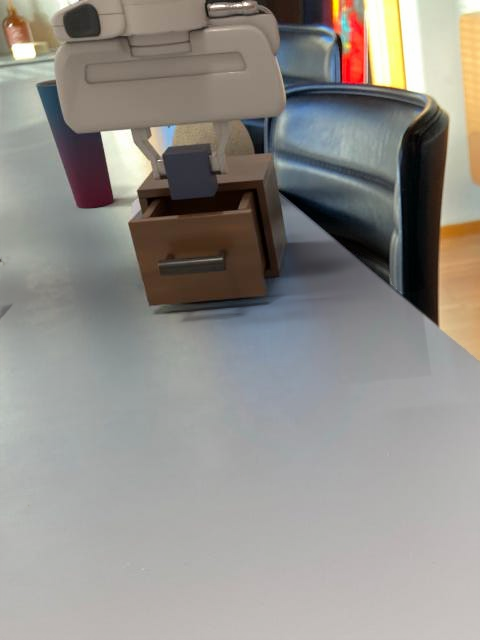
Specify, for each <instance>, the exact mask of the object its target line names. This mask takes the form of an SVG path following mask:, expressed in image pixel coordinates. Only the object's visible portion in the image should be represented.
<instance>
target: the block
mask: <svg viewBox="0 0 480 640" xmlns="http://www.w3.org/2000/svg"><path fill="white" fill-rule="evenodd" d="M210 152H211V147H210V143H206V144H194V145H183V146H172V145H171V146H168V147H167V148H166V149H165V150H164V152H163V153H162V154H161V156H162V158H163V163H164V167H165V171H166V176H167V180H168V184H169V189H170V193H171V198H172V200H181V199H192V198H203V197H214V195H215V193H216V191H217V189H218V187H219V186H218V181H217V177H216V175H212V174H211V170H210V167H211V166H210V164H209V160H208V155H209V153H210Z"/></svg>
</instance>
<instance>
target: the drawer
mask: <svg viewBox="0 0 480 640" xmlns="http://www.w3.org/2000/svg"><path fill="white" fill-rule="evenodd" d="M127 224H128V228H129V232H130V236H131V240H132V245H133V248H134V252H135V256H136V260H137V264H138V269H139V272H140V276H141V280H142V284H143V288H144V292H145V296H146V300H147V303H148V306H149V307H154V306H165V305H166V306H167V305H176V304H177V305H178V304H187V303H188V304H189V303H199V302H211V301H218V300H219V301H220V300H231V299H242V298H243V299H245V298H254V297H264V296H267V291H268V290H267V287H266V286H267V285H266V280H265V278H264V274H263V272H264V268H265V265H266V261H267V251H266V245H265V240H264V234H263V229H262V223H261V217H260V212H259V206H258V201H257V195H256V190H255V189H246V190H234V191H222V192H216V193H215V195H214V197H203V198H192V199H181V200H172V198H171V196H164V197H155V199H154V200H153V201H152V203H151V204H150V206H149V207H148V209H147V210H146V211H145V213H144V214H143V216H142V217H141V219H131V220H130V219H129V221H128V222H127Z"/></svg>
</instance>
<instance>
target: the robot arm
mask: <svg viewBox="0 0 480 640" xmlns="http://www.w3.org/2000/svg"><path fill="white" fill-rule="evenodd" d="M259 12H263V13H261V14H259ZM50 25H51V29H52V32H53V35H54V36H55V38H56V39H57V40H58V41H60V42H64V43H62V44H61V45H60V46H59V47H58V48H57V50H56V51H55V55H54V61H53V69H54V76H55V79H56V85H57V90H58V96H59V101H60V105H61V110H62V114H63V117H64V120H65V122H66V124H67V125H68V126H69V127H70V128H71V129H72V130H73V131H74V132H76V133H78V134H80V133H92V132H101V133H102V132H104V133H105V132H113V131H115V132H116V131H126V130H130V133H131V136H132V141H133V143H134V145H135V146H136V147H137V149H139V151H140V152H141V153H142V154H143V155H144V156H145V158H146V159H147V160H148V162H150V165H151V169H152V170H153V174H154V178H155V180H162V179H167V176H166V171H165V167H164V163H163V158H162V155H161V156H160V154H159V153H158V151H157V150H156V149H155V147H154V146H153V145H152V143H151V142H150V141H149V140H150V139H151V138H152V136H153V134H152V130H151V128H158V127H159V128H162V127H167V126H170V127H172V126H174V127H175V126H176V125H186V124H198V123H210V122H213V126H214V131H215V134H216V135H220V134H222V136H221V139H220V142H219V145H218V149H217V152H210V153H209V155H208V160H209V164H210V166H211V167H210V170H211V174H212V175H220V174H227V172H228V167H227V162H226V156H225V151H226V148H227V145H228V142H229V139H230V136H231V133H232V126H231V121H233V120H240V121H243V120H256V119H267V118H278V117H279V116H281V114H282V113H283V111H284V110H285V108H286V105H287V94H286V89H285V84H284V80H283V75H282V72H281V67H280V65H279V61H278V58H277V54H278V53H279V51H280V47H281V37H280V31H279V24H278V20H277V18H276V17H275V15H274V13H273V12H272V11H271V10H270V9H269V8H268V7H266V6H264V5H261V4H258V1H256V0H242V1H240V2H222V1H221V2H209V3H207V1H206V0H78V1H76V2H74V3H72V4H69V5H67V6H65V7H63V8H61V9H59V10H57V11H56V12H55V13H53V14H52V15H51V17H50ZM152 170H151V171H152Z"/></svg>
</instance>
